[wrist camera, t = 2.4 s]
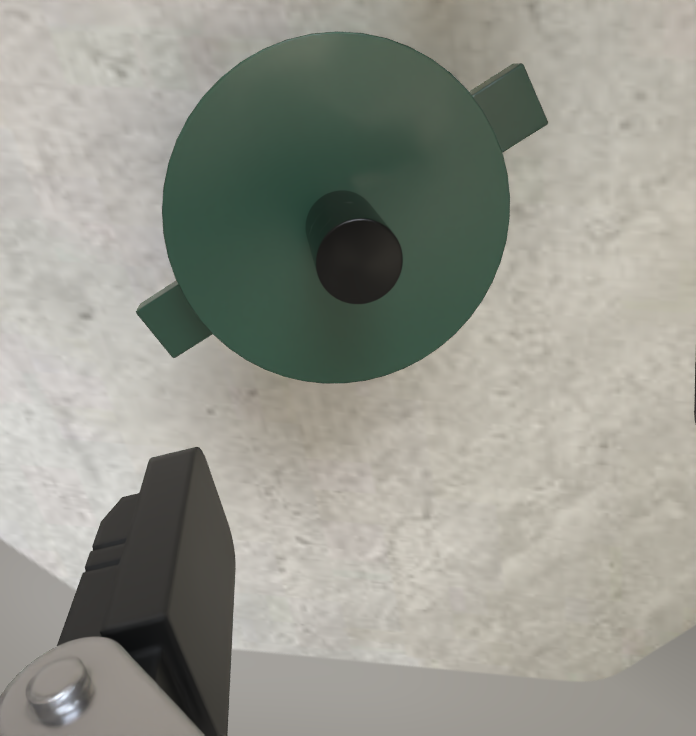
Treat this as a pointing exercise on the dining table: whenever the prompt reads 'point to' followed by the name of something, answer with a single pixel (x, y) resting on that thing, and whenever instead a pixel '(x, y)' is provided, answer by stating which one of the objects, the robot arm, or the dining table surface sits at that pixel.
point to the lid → (336, 207)
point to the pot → (511, 125)
